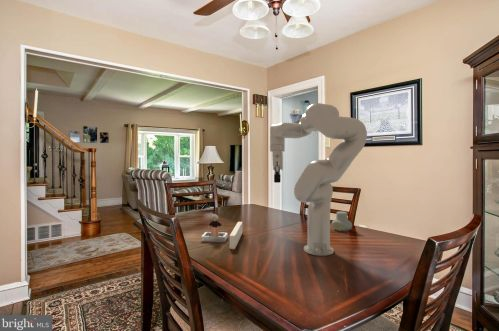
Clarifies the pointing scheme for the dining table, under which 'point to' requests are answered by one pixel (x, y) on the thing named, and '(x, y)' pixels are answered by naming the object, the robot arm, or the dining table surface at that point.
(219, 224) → the grandmother figurine
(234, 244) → the white long flat block
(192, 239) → the dining table surface
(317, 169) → the robot arm
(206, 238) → the grey hollow rectangular frame
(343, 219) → the air freshener
